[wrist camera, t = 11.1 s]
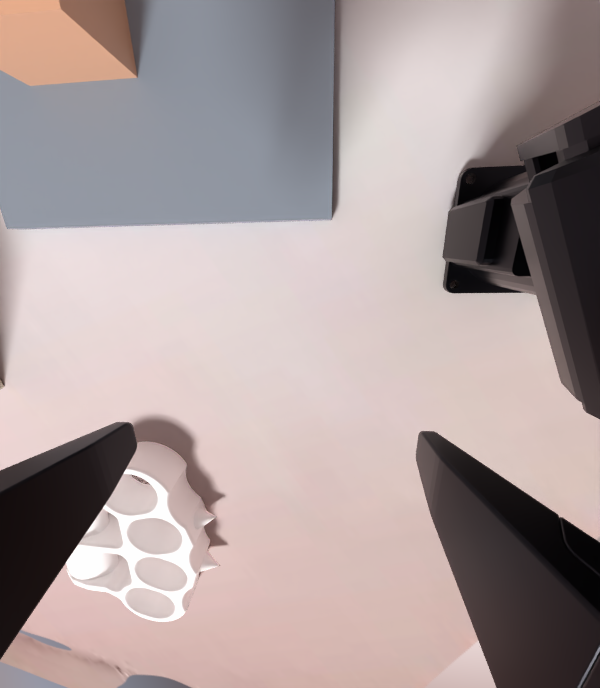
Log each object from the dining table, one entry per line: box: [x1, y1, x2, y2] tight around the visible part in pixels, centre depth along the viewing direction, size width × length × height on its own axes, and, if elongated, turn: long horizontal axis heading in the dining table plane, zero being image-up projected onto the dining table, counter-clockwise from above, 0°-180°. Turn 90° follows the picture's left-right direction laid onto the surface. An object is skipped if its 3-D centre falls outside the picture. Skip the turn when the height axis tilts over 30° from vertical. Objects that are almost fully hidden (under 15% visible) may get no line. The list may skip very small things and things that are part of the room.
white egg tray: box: [66, 441, 220, 622], centre depth 25 cm, size 3×18×15 cm
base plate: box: [0, 0, 335, 229], centre depth 13 cm, size 20×16×4 cm
